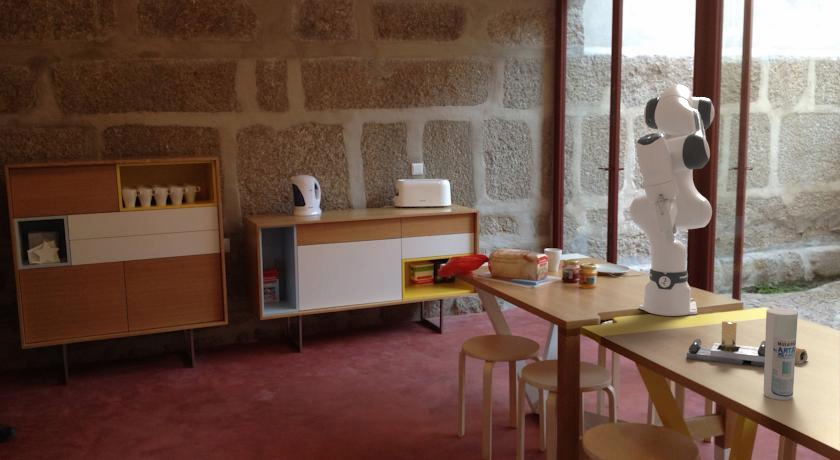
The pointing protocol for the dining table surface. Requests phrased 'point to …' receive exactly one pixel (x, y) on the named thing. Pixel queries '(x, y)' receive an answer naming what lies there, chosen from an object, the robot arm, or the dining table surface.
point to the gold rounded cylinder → (728, 336)
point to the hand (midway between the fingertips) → (672, 237)
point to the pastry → (800, 356)
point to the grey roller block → (728, 354)
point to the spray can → (780, 353)
